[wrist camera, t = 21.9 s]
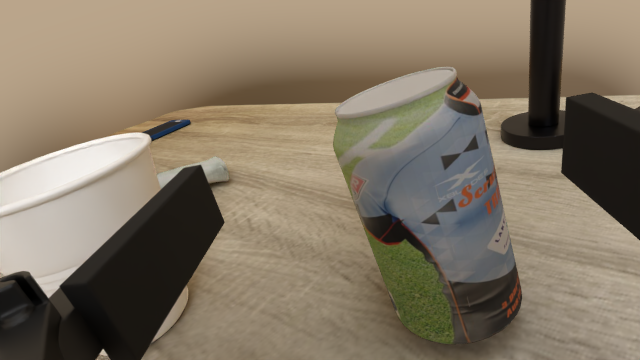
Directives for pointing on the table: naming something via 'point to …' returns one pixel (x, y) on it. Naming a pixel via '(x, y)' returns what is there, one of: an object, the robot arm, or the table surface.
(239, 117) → the table surface
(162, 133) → the cell phone
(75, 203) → the cup
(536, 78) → the can holder
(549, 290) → the table surface
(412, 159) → the beverage can
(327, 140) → the table surface
